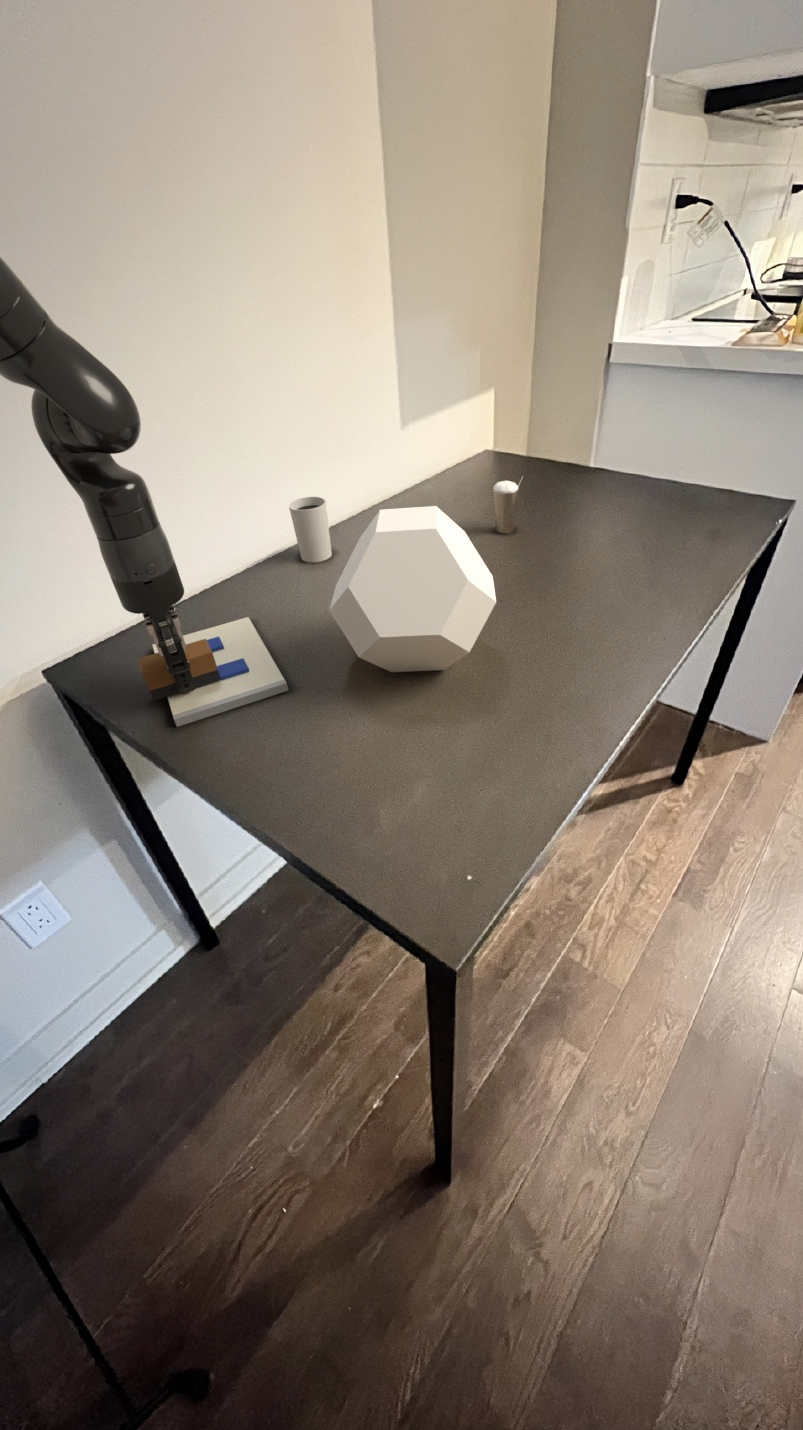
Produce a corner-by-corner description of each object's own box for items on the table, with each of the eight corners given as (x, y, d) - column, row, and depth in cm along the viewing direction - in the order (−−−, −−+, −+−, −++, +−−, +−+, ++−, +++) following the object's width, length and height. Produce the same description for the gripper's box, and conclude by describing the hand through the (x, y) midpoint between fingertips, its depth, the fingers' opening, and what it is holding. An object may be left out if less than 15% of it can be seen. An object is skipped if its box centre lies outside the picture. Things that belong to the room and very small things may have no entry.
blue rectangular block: (221, 680, 85) (220, 677, 85) (216, 669, 87) (215, 666, 87) (249, 671, 86) (248, 668, 86) (244, 661, 88) (243, 657, 88)
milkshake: (522, 533, 117) (524, 480, 111) (494, 535, 118) (494, 482, 112) (519, 524, 121) (521, 471, 115) (491, 526, 121) (492, 474, 115)
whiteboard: (176, 727, 80) (173, 719, 79) (154, 651, 95) (151, 643, 94) (288, 690, 84) (286, 682, 83) (250, 623, 99) (248, 616, 98)
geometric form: (420, 606, 99) (411, 479, 86) (519, 652, 87) (525, 511, 74) (319, 660, 89) (292, 525, 77) (414, 720, 77) (401, 571, 64)
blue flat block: (197, 656, 90) (196, 653, 90) (193, 647, 93) (192, 644, 92) (224, 648, 91) (223, 645, 91) (220, 639, 94) (219, 636, 93)
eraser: (221, 679, 85) (212, 651, 82) (153, 701, 82) (142, 673, 79) (214, 665, 88) (205, 638, 85) (149, 685, 85) (138, 658, 82)
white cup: (337, 547, 119) (329, 495, 113) (330, 562, 114) (321, 509, 108) (303, 548, 120) (293, 497, 114) (295, 564, 115) (284, 511, 109)
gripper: (103, 552, 78) (149, 665, 89) (114, 597, 68) (164, 719, 78) (164, 537, 80) (201, 649, 91) (183, 579, 70) (223, 700, 81)
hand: (184, 681), depth 85 cm, fingers closed on eraser, 4 cm apart
